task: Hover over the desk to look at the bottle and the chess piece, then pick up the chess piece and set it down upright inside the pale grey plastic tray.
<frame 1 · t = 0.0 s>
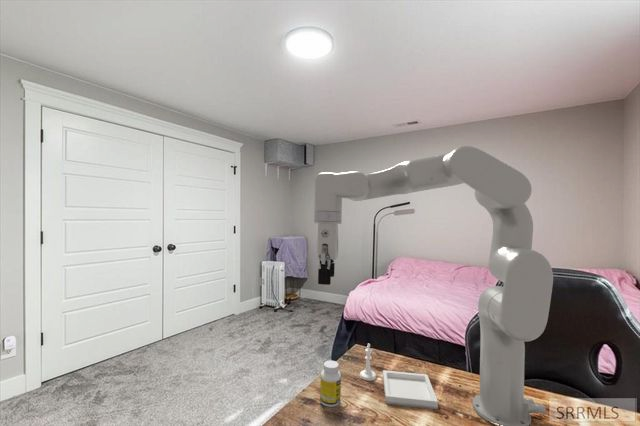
hand: (326, 280, 82), 31 cm above the table, tool pointing down, fingers open, 9 cm apart
tray: (407, 391, 83), on the table
chess piece: (367, 376, 91), on the table
supplement bottle: (330, 401, 78), on the table
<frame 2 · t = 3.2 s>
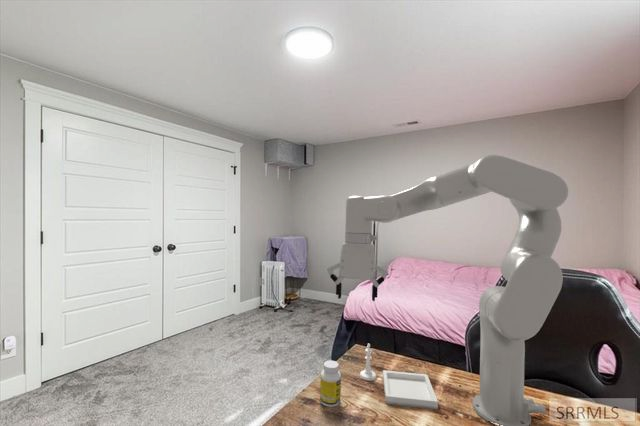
hand: (356, 298, 85), 25 cm above the table, tool pointing down, fingers open, 9 cm apart
nothing on the table moved.
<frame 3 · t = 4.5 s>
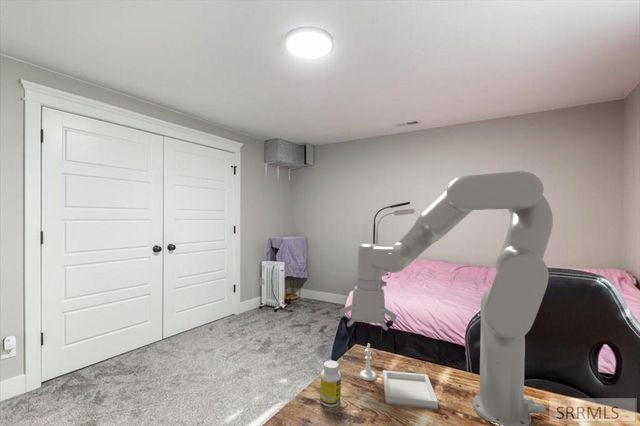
hand: (366, 339, 91), 11 cm above the table, tool pointing down, fingers open, 9 cm apart
nothing on the table moved.
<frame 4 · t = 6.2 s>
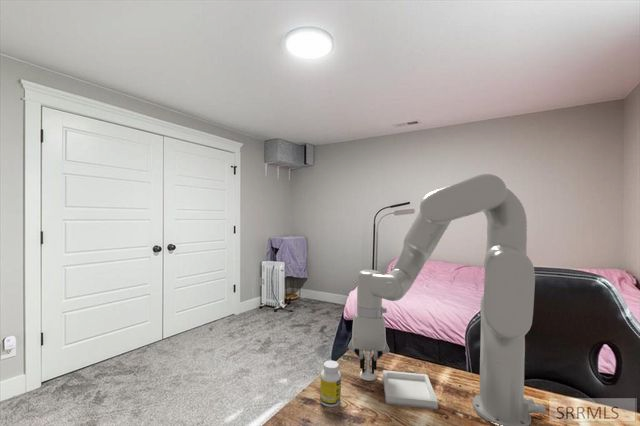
hand: (368, 370, 91), 2 cm above the table, tool pointing down, fingers closed on chess piece
chess piece: (367, 376, 91), on the table, touching gripper
everything else where it was.
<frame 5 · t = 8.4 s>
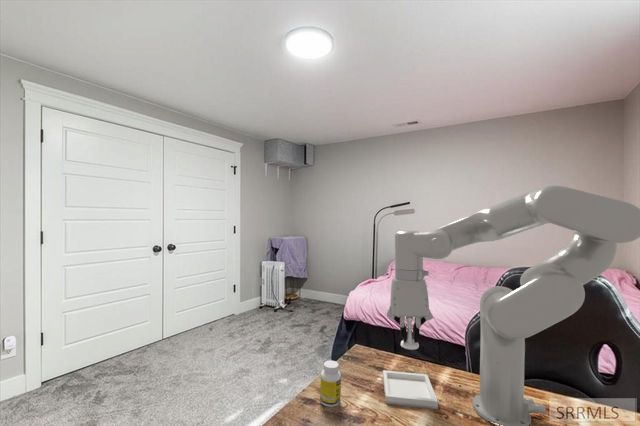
hand: (409, 339, 83), 15 cm above the table, tool pointing down, fingers closed on chess piece
chess piece: (409, 346, 83), point 13 cm above the table, touching gripper
everything else where it was.
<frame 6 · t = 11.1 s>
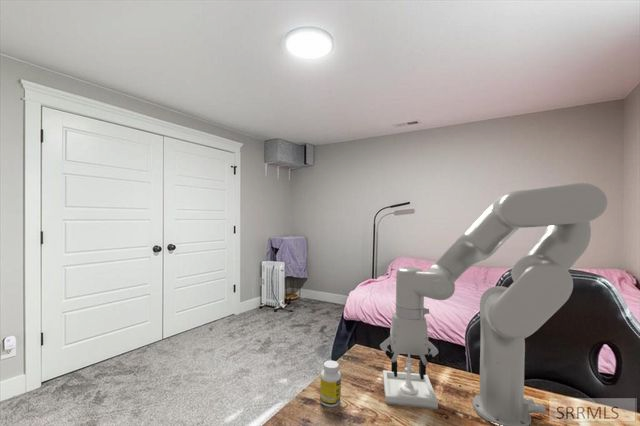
hand: (408, 375, 83), 5 cm above the table, tool pointing down, fingers open, 6 cm apart
chess piece: (408, 390, 83), resting on tray
everything else where it was.
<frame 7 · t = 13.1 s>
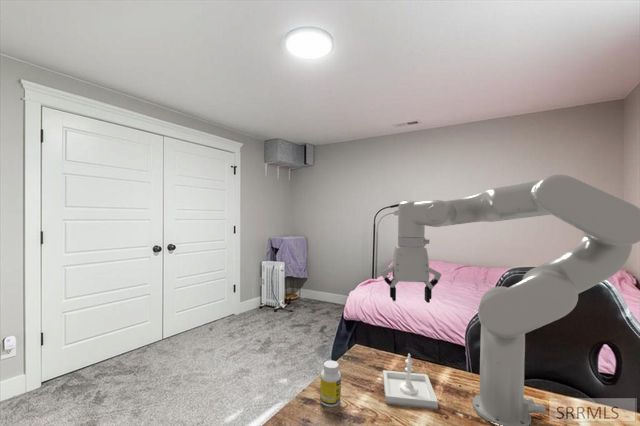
hand: (410, 300, 88), 24 cm above the table, tool pointing down, fingers open, 9 cm apart
nothing on the table moved.
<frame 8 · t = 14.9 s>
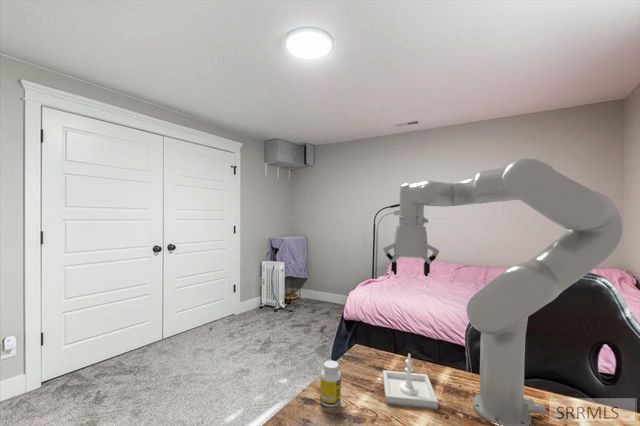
hand: (410, 274, 96), 30 cm above the table, tool pointing down, fingers open, 9 cm apart
nothing on the table moved.
at the end: chess piece inside the target area on the tray (0.1 cm from its centre), point 0.4 cm above the tray's base; chess piece tilted 0°; the gripper is holding nothing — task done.
